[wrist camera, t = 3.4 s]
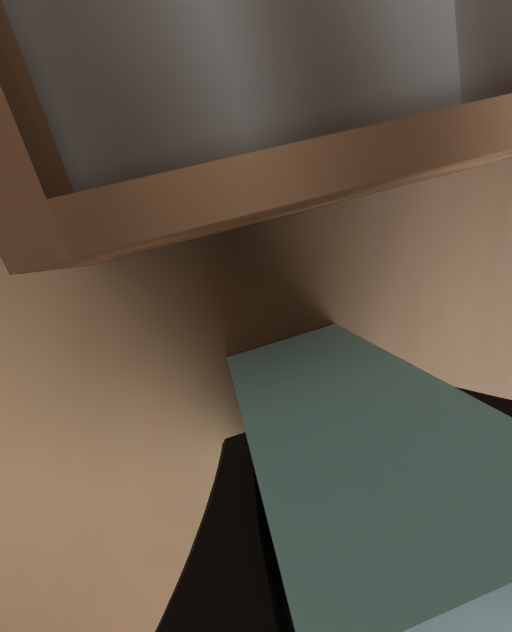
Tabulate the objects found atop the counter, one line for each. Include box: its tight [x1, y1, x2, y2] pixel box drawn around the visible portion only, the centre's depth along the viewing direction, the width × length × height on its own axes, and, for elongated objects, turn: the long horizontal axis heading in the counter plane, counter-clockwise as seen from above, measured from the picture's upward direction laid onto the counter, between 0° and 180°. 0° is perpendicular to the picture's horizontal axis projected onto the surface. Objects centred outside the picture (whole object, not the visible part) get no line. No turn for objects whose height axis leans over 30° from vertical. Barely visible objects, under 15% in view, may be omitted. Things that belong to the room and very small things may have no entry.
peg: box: [227, 324, 512, 632], centre depth 7 cm, size 4×4×8 cm
